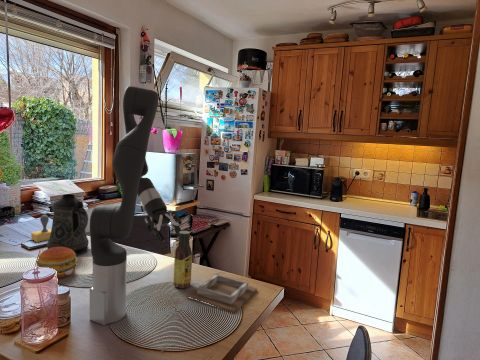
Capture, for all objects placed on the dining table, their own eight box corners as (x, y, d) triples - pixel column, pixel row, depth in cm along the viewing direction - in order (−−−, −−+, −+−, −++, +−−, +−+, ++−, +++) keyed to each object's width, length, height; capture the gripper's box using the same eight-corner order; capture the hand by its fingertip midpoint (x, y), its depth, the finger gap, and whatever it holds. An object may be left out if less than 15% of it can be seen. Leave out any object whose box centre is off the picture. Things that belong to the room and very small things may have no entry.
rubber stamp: (37, 242, 156) (36, 217, 154) (31, 239, 159) (30, 215, 157) (58, 237, 164) (58, 214, 162) (52, 235, 167) (51, 212, 165)
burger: (85, 271, 128) (84, 246, 127) (53, 285, 116) (53, 257, 114) (59, 264, 133) (59, 240, 132) (26, 277, 121) (26, 250, 119)
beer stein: (60, 242, 157) (60, 190, 154) (101, 245, 157) (101, 193, 153) (38, 255, 141) (37, 197, 137) (83, 258, 140) (83, 200, 137)
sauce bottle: (187, 290, 118) (189, 236, 115) (170, 287, 119) (172, 233, 116) (193, 282, 124) (195, 230, 121) (177, 280, 125) (179, 229, 123)
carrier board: (234, 313, 104) (234, 302, 104) (186, 298, 112) (187, 288, 112) (256, 290, 120) (257, 281, 120) (214, 278, 128) (214, 270, 128)
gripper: (142, 199, 120) (162, 237, 115) (171, 194, 132) (191, 229, 127) (132, 211, 124) (152, 248, 119) (162, 205, 135) (181, 239, 130)
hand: (172, 238), depth 123 cm, fingers open, 8 cm apart
